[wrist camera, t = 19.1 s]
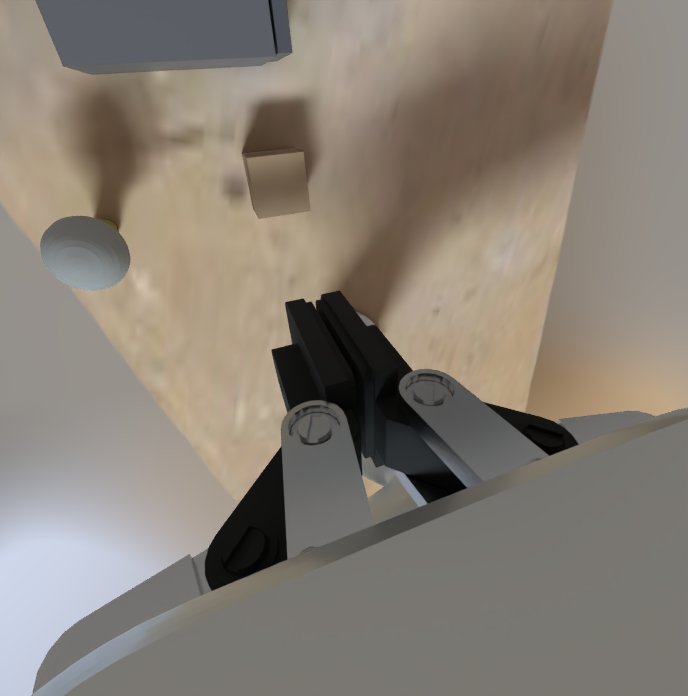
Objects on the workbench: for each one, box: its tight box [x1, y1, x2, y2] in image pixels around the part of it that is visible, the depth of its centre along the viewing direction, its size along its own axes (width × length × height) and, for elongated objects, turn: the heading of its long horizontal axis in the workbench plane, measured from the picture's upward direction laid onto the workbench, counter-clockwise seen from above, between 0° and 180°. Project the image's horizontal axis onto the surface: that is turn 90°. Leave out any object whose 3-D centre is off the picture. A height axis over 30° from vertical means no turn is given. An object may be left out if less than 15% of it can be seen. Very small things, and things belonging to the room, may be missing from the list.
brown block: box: [242, 147, 310, 219], centre depth 33 cm, size 5×5×4 cm
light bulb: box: [40, 216, 130, 290], centre depth 28 cm, size 6×5×10 cm
